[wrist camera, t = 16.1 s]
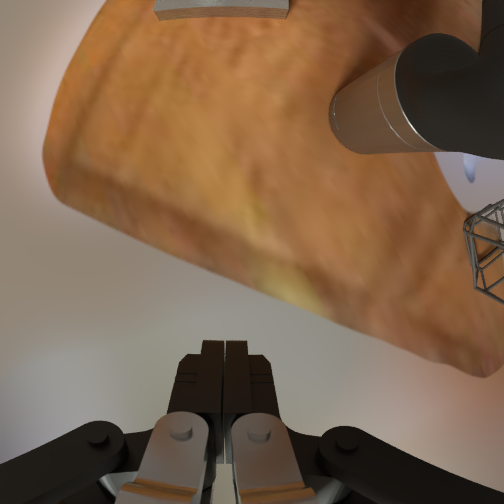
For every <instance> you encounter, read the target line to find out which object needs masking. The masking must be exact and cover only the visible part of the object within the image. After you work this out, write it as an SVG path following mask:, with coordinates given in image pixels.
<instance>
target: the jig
mask: <svg viewBox="0 0 504 504" xmlns="http://www.w3.org/2000/svg"><path fill="white" fill-rule="evenodd" d="M288 10H289V1H288V0H156V1H155V7H154V12H155V14H156V16H157V18H158V20H159V21H162V20H172V19H184V18H200V17H259V18H275V19H285V18H286V15H287V12H288Z"/></svg>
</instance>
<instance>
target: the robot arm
mask: <svg viewBox="0 0 504 504" xmlns="http://www.w3.org/2000/svg"><path fill="white" fill-rule="evenodd" d="M329 122H330V125H331V128H332V131H333V132H334V134H335V136H336V138H337V139H338V140H339V141H340V143H342V144H343V145H344V146H345V147H346V148H348V149H350V150H351V151H354V152H357V153H360V154H382V153H407V152H463V153H468V154H472V155H477V156H481V157H486V158H491V159H499V160H504V0H482V26H481V41H480V50H479V54H478V53H477V52H476V51H475V50H474V49H473V48H472V47H470V46H469V45H468V44H466V43H465V42H464V41H462V40H460V39H458V38H456V37H454V36H451V35H447V34H440V33H437V34H430V35H426V36H424V37H422V38H420V39H418V40H416V41H415V42H413V43H411V44H410V45H408V46H407V47H405V48H403V49H402V50H400V51H399V52H397V53H395V54H394V55H392V56H391V57H389V58H388V59H386V60H385V61H383V62H381V63H380V64H378V65H377V66H375V67H374V68H372V69H371V70H369V71H368V72H366V73H365V74H363V75H362V76H360V77H359V78H357V79H356V80H354V81H353V82H351V83H350V84H348V85H347V86H345V87H344V88H342V89H341V90H340V91H339V92H338V93H337V94H336V95H335V96H334V98H333V99H332V101H331V104H330V108H329ZM224 436H225V453H226V463H227V464H232V473H233V489H234V497H235V504H504V493H503V492H500V491H497V490H494V489H492V488H489V487H486V486H483V485H481V484H478V483H475V482H473V481H470V480H467V479H465V478H462V477H460V476H457V475H455V474H453V473H450V472H448V471H446V470H443V469H441V468H438V467H436V466H434V465H432V464H430V463H427V462H425V461H423V460H421V459H418V458H417V457H414V456H412V455H410V454H408V453H406V452H404V451H402V450H400V449H398V448H396V447H394V446H391V445H390V444H388V443H386V442H384V441H382V440H380V439H378V438H376V437H374V436H372V435H370V434H368V433H367V432H365V431H363V430H361V429H359V428H356V427H351V426H339V427H334V428H332V429H329V430H328V431H326V432H325V433H324V434H323V435H322V437H319V436H312V435H305V434H301V433H298V432H295V431H293V430H291V429H289V428H288V427H287V426H286V425H285V424H284V423H283V422H282V420H281V418H280V414H279V408H278V403H277V397H276V392H275V386H274V381H273V376H272V369H271V364H270V362H269V361H268V360H267V359H266V358H265V357H264V356H263V355H248V346H247V341H226V351H225V348H224V341H216V340H203V342H202V349H201V354H187V355H186V356H185V357H184V358H183V359H182V360H181V361H180V362H179V365H178V369H177V375H176V377H175V383H174V386H173V389H172V393H171V398H170V402H169V406H168V410H167V414H166V415H165V416H163V417H161V418H160V419H159V420H158V421H157V423H156V424H155V427H154V428H153V429H150V430H147V431H143V432H137V433H128V434H123V432H122V430H121V429H120V428H119V427H118V426H116V425H115V424H113V423H111V422H107V421H93V422H89V423H86V424H84V425H82V426H80V427H78V428H76V429H74V430H72V431H70V432H68V433H66V434H64V435H63V436H60V437H58V438H56V439H54V440H52V441H50V442H48V443H46V444H44V445H42V446H40V447H38V448H36V449H33V450H31V451H29V452H27V453H25V454H23V455H20V456H18V457H16V458H14V459H11V460H9V461H7V462H5V463H2V464H0V504H212V501H213V493H214V486H215V478H216V464H221V463H222V464H223V463H224Z"/></svg>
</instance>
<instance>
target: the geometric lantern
mask: <svg viewBox="0 0 504 504" xmlns="http://www.w3.org/2000/svg"><path fill="white" fill-rule="evenodd" d="M499 205H500V206H499ZM503 205H504V199H503V200H501V201H499V202H497V203H495V204H493V205H492V204H489V205H488V206H486V207H485V208H484V209H482V210H481V211H479V212H478V213H476V214H475V215H474V216H472V217H471V218H469V219H468V220H467V221H465V222H464V229H463V231H464V235H465V240H466V244H467V249H468V254H469V259H470V264H471V266H472V270H473V285H474V289H475V290H477V291H479V292H481V293H483V294H485V295H487V296H488V297H490V298H492V299H494V300H496V301H498V302H499V303H501V304H503V305H504V300H502V299H501V298H499V297H497V296H496V295H494V294H492V293H491V292H489V290H491V289H492V288H494V287H495V286H496V285H498V284H499V283H501V282H502V281H503V280H504V277H502V278H501V279H499V280H498V281H497V282H495V283H494V284H492V285H491V286H489V287H488V288H486V284H485V279H484V275H483V270H484V269H485V268H487V267H488V266H489V265H490V264H492V263H493V262H494V261H495V260H496V259H498V258H499V257H500V256H501V255H502V254H504V251H503V252H501V253H500V254H499V255H498V256H497V257H495V258H494V259H493V260H492V261H491V262H489V263H488V264H487V265H486V266H484V267H483V268H481V267H479V264H481V263H482V262H483V261H485V260H486V259H487V258H488V257H490V256H491V255H492V254H493V253H495V252H496V251H497V250H498V249H499V248H500V249H502V250H504V244H502V243H504V241H502V239H501V233H500V228H502V229H504V215H503V210H504V207H503V208H501V207H502V206H503ZM493 208H494V210H493V211H492V212H491V213H489V214H488V215H486V216H485V217H483V216H481V215H482V214H484V213H486V212H488V211H490V210H492V209H493ZM497 210H500V211H501V215H502V219H503V224H501V223H499V222H498V217H497V212H496V211H497ZM494 212H495V216H496V221H497V222H496V221H493V220H491V219H488V218H487V217H489V216H490V215H492V214H493V213H494ZM476 218H478V219H480V220H479V221H478V222H476V223H475V221H476ZM471 220H472V223H471V224H469V223H468V222H469V221H471ZM482 221H485V222H488V223H490V224H493V225H495V226H497V227H498V232H499V238H500V242H497V241H494V240H491V239H489V238H486V237H483V236H480V235H477V234H474V233H472V232H473V229H474V227H475V226H476V225H477V224H479V223H480V222H482ZM466 225H467V226H470V230H469V231H467V230H466ZM466 233H468V234H469V241H470V248H469V243H468V239H467V235H466ZM473 237H474V238H477V239H480V240H483V241H485V242H488V243H490V244H493V245H496V246H498V247H497V248H496V249H495V250H494V251H493V252H491V253H490V254H489V255H488V256H486V257H485V258H484V259H482V260H481V261H480V262H479V263H478V259H477V254H476V248H475V243H474V238H473ZM470 250H471V253H470ZM474 254H475V256H474ZM475 260H476V264H475ZM476 268H477V271H476ZM479 270H480V271H481V276H482V280H483V284H484V289H485V290H484V289H481V288H479V287H477V280H478V272H479Z"/></svg>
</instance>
